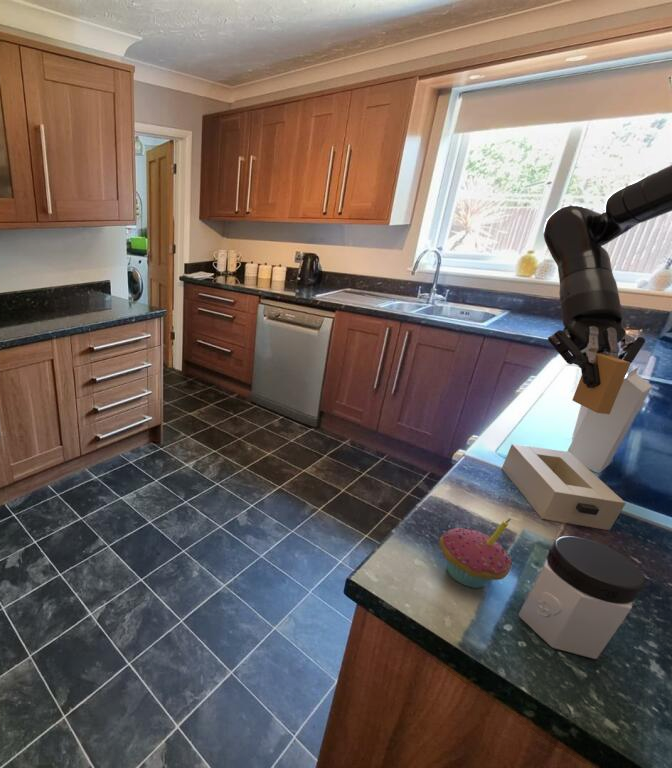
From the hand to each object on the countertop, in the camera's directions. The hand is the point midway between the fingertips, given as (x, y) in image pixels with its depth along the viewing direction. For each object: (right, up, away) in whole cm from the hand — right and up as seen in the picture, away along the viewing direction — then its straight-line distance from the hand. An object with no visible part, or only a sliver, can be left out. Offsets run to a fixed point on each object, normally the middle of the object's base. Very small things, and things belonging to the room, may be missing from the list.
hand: (602, 387), depth 72 cm
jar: (-23, -32, -16) cm, 42 cm away
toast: (0, -4, +2) cm, 4 cm away
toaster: (0, -21, +9) cm, 23 cm away
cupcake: (-30, -28, -8) cm, 42 cm away
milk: (+17, -17, +20) cm, 31 cm away
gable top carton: (+26, -14, +27) cm, 40 cm away
